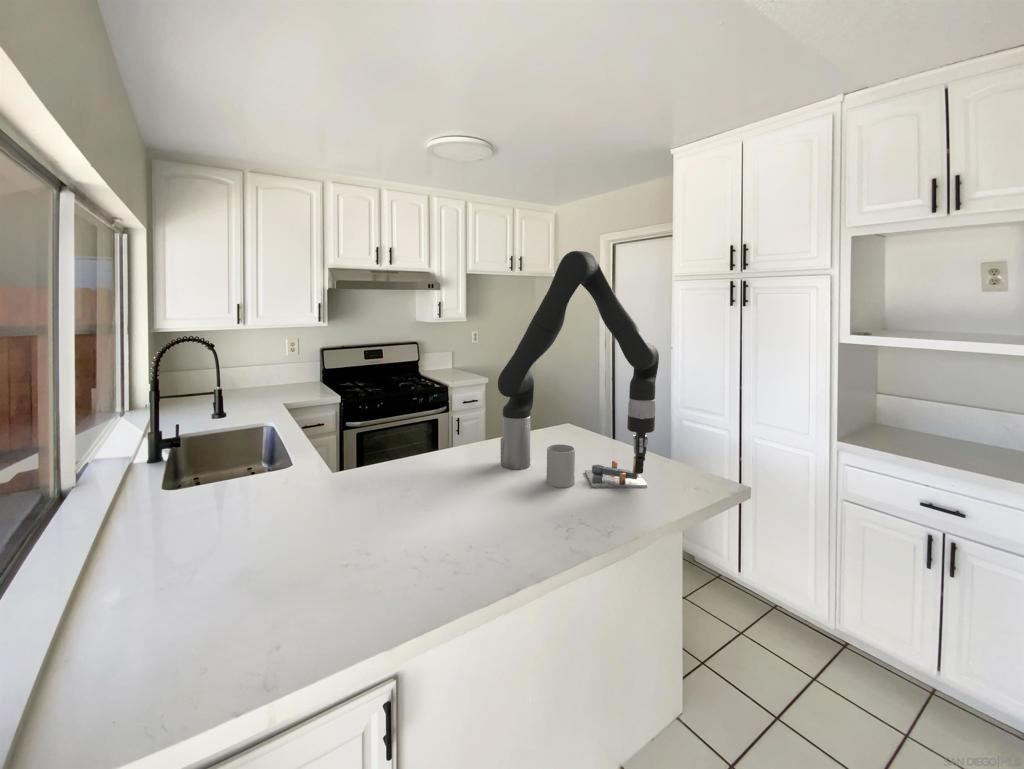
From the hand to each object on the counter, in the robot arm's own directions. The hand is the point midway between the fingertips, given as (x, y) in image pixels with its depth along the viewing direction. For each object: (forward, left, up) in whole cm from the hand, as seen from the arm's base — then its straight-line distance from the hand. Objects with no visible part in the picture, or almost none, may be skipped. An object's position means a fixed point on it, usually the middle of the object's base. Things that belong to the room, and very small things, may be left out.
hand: (639, 472), depth 141 cm
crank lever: (-7, +4, -3) cm, 9 cm away
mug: (-24, -1, -6) cm, 24 cm away
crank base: (-8, +7, -6) cm, 12 cm away
